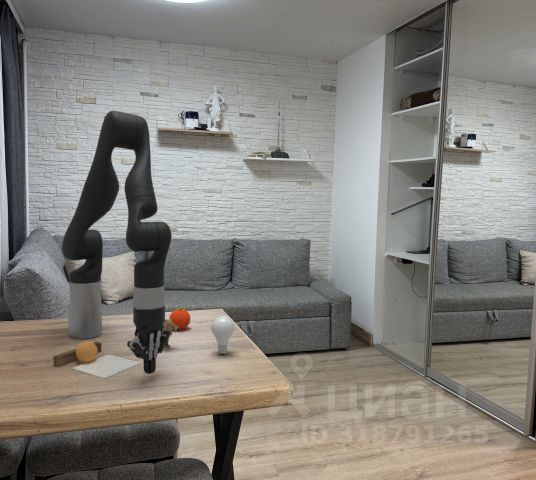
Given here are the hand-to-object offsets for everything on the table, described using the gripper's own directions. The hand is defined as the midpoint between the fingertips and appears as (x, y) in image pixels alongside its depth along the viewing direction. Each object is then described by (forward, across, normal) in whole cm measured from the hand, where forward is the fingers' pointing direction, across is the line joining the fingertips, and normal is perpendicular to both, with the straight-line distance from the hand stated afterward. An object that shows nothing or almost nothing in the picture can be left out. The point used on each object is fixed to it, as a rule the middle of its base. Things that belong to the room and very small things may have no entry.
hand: (149, 372), depth 117 cm
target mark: (+2, 0, -15) cm, 15 cm away
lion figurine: (+2, -21, -15) cm, 26 cm away
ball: (-1, +1, -22) cm, 22 cm away
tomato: (+2, -36, -21) cm, 42 cm away
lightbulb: (+2, -24, +5) cm, 25 cm away
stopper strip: (+2, 0, -26) cm, 26 cm away
